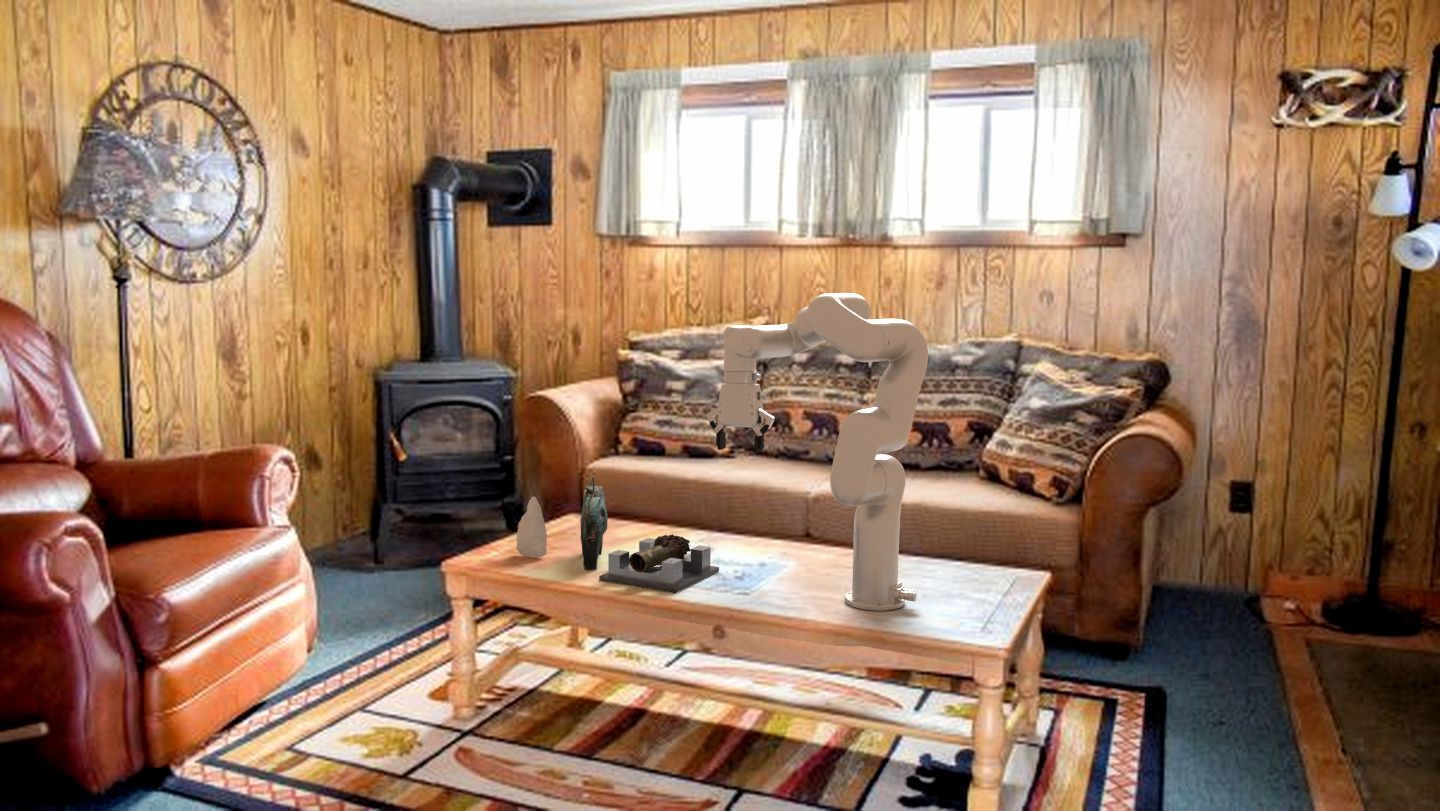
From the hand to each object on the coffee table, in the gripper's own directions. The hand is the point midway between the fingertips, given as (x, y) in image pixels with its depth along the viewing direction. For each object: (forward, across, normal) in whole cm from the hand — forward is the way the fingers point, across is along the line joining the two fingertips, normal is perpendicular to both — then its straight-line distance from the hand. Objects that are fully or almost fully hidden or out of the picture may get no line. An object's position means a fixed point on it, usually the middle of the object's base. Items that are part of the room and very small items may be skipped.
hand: (739, 450), depth 256 cm
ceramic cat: (+28, +33, +13) cm, 45 cm away
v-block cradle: (+28, +12, +17) cm, 35 cm away
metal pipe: (+25, +12, +17) cm, 32 cm away
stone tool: (+27, +48, +17) cm, 58 cm away
